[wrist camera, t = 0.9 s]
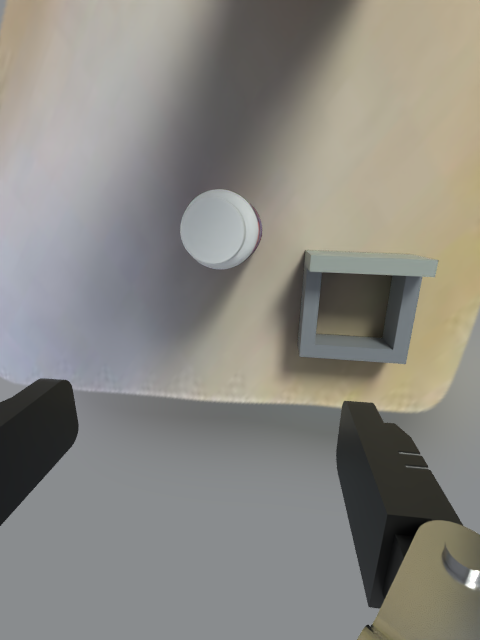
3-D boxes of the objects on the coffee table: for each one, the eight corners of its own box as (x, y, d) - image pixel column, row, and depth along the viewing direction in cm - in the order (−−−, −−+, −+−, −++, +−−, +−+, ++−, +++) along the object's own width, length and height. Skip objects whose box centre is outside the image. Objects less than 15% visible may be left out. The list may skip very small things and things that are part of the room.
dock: (305, 250, 29) (311, 255, 24) (410, 254, 28) (438, 260, 23) (297, 344, 31) (300, 366, 26) (393, 350, 30) (415, 374, 25)
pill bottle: (269, 251, 29) (265, 263, 20) (212, 266, 30) (183, 285, 21) (253, 189, 28) (241, 170, 18) (195, 207, 29) (155, 199, 19)
